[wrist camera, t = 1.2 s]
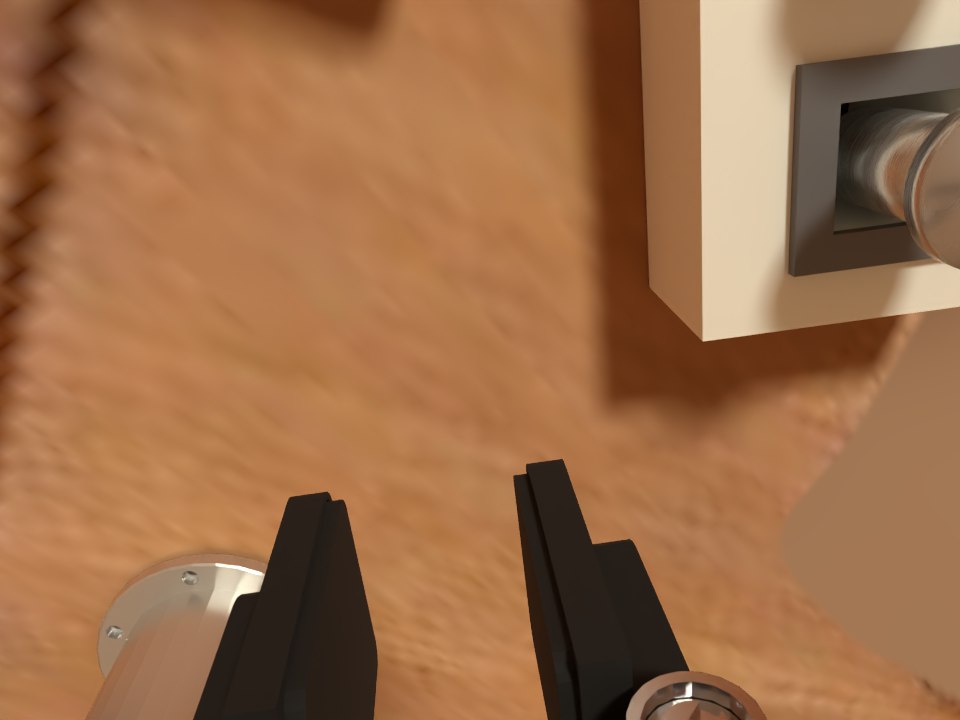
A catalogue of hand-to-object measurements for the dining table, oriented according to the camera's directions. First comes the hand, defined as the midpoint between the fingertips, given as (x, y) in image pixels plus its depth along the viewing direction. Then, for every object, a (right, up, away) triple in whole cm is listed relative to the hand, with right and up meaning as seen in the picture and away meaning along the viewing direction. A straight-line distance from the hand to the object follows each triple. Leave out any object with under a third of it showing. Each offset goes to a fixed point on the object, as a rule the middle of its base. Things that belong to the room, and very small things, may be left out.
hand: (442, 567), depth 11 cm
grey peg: (+15, +11, +18) cm, 26 cm away
